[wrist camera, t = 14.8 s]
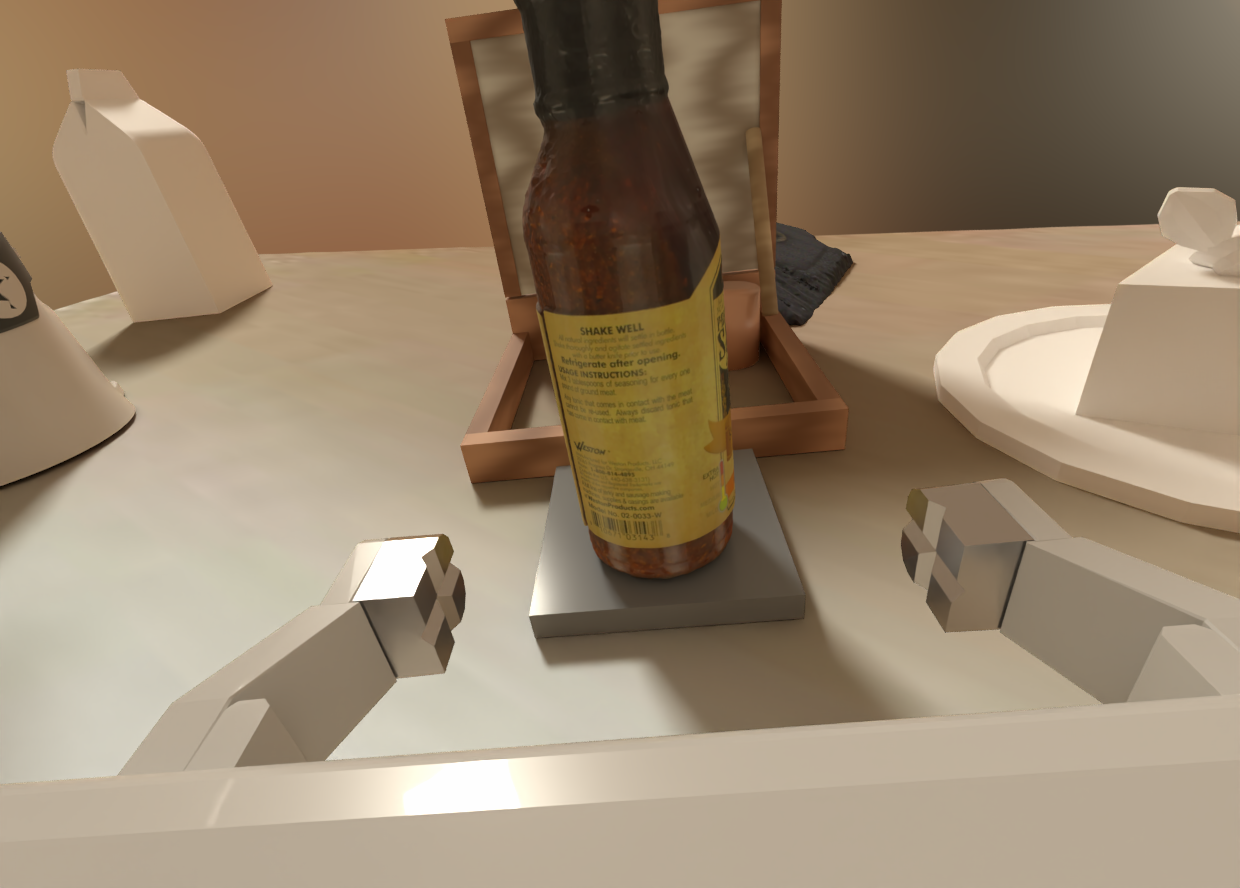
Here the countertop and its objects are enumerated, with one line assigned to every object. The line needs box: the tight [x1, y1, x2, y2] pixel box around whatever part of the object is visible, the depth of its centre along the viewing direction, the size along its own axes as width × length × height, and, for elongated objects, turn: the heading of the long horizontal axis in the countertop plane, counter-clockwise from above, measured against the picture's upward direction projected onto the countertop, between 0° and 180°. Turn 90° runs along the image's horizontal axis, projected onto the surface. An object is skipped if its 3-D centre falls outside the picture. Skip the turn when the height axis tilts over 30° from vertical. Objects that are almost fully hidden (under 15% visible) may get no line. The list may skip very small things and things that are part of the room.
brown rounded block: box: [723, 281, 760, 371], centre depth 41 cm, size 4×4×5 cm
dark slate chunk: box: [774, 222, 853, 325], centre depth 55 cm, size 15×22×5 cm
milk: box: [52, 69, 273, 323], centre depth 70 cm, size 12×12×26 cm
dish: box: [933, 187, 1240, 533], centre depth 28 cm, size 25×25×11 cm
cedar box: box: [445, 0, 849, 483], centre depth 33 cm, size 20×18×22 cm
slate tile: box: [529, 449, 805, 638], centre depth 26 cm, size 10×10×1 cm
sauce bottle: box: [514, 0, 735, 579], centre depth 19 cm, size 6×6×20 cm
